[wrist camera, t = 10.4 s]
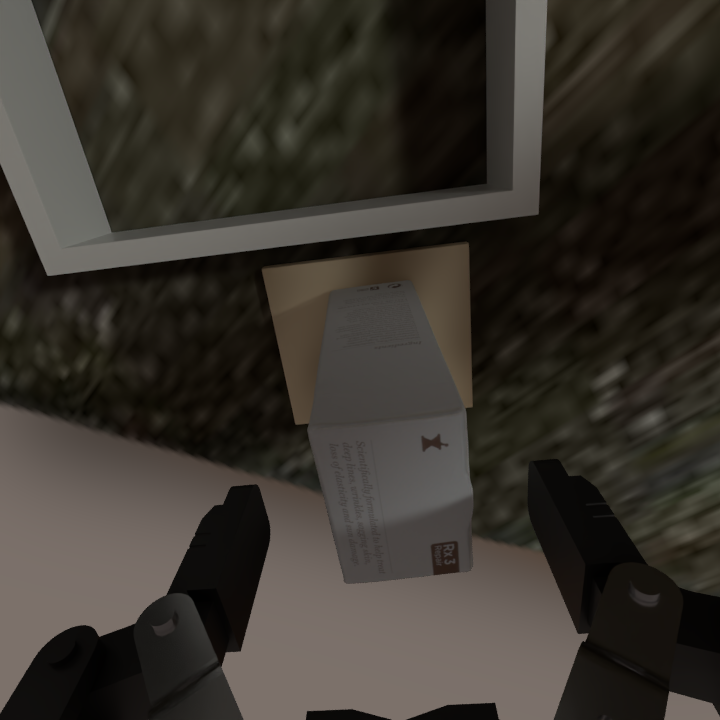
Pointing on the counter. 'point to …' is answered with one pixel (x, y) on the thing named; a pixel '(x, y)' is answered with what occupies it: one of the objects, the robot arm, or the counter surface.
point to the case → (263, 230)
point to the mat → (319, 277)
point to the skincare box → (390, 439)
